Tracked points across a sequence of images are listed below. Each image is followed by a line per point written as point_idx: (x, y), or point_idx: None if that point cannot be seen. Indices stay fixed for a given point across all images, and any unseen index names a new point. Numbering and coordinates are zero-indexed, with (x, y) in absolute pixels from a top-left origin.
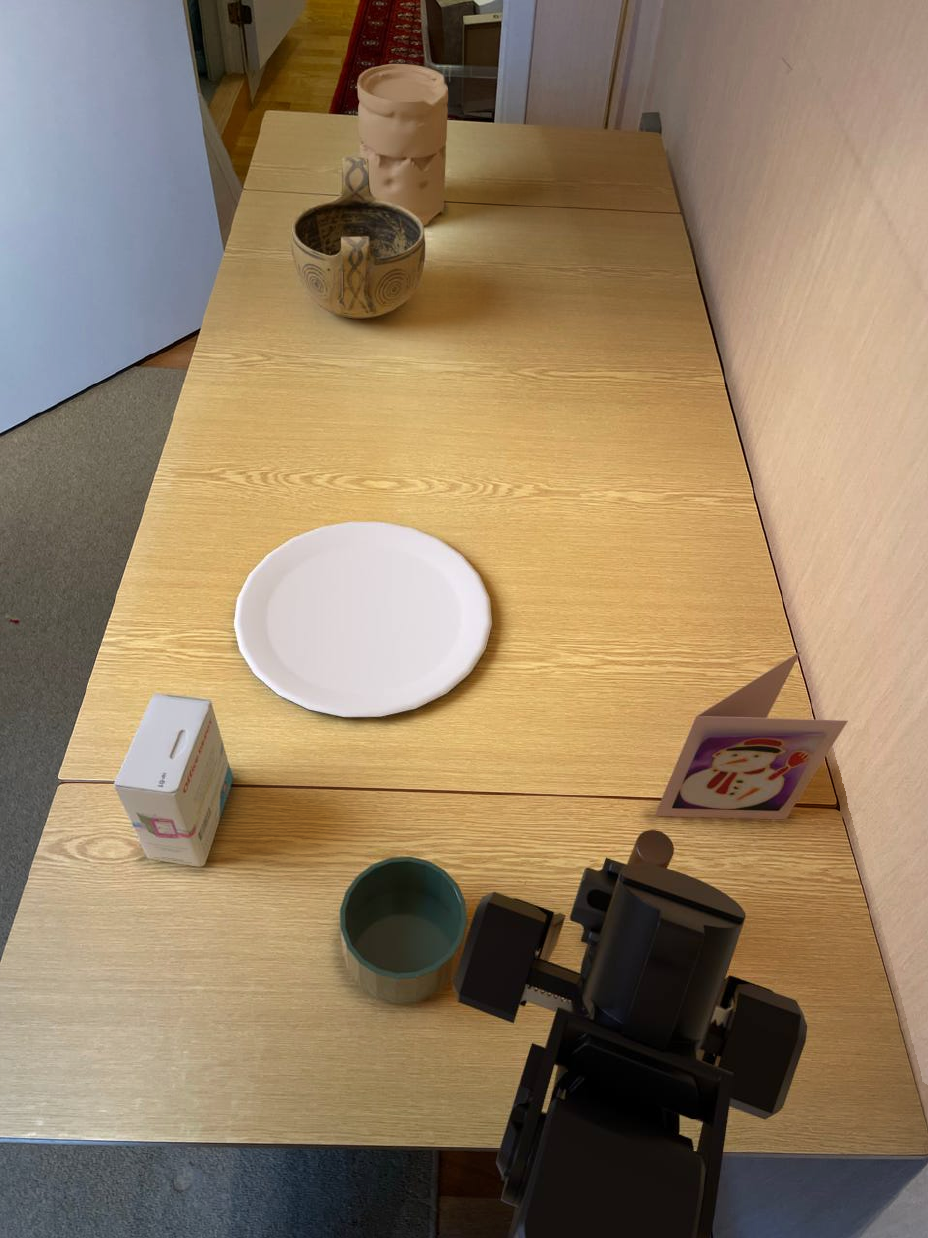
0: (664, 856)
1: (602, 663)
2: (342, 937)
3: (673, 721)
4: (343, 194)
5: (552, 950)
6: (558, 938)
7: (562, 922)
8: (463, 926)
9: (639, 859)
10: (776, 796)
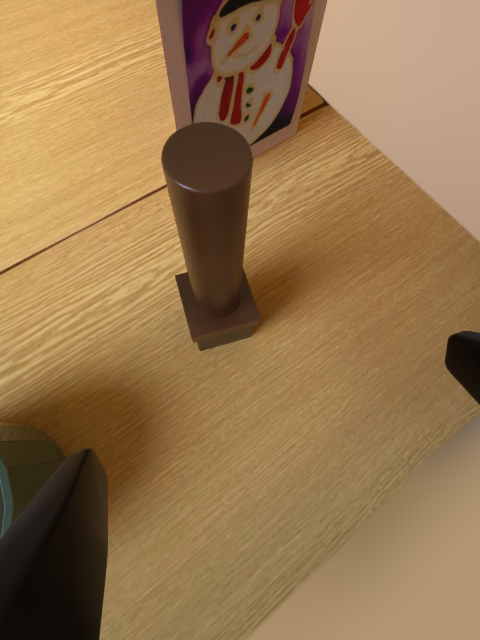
0: (237, 162)
1: (58, 89)
2: None
3: (154, 105)
4: None
5: (89, 628)
6: (100, 538)
7: (59, 530)
8: (5, 482)
9: (191, 201)
10: (287, 98)
